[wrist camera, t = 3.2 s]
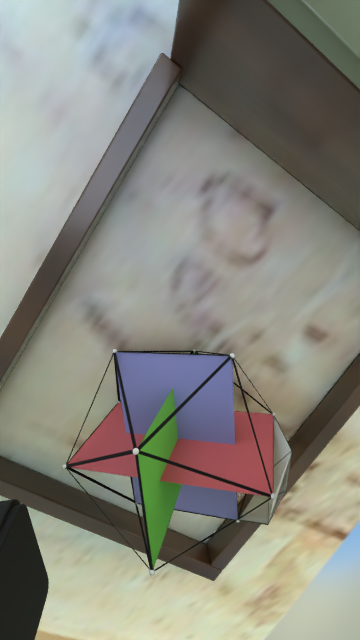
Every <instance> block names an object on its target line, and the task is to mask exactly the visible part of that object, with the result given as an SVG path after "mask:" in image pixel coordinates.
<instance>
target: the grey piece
mask: <svg viewBox="0 0 360 640" xmlns="http://www.w3.org/2000/svg"><path fill="white" fill-rule="evenodd" d="M178 83H180V84H181V85H182V86H183V87H185V88H186V89H187V90H188V91H190V92H191V93H192V94H193V95H194V96H196V97H197V98H198V99H199V100H201V101H202V102H203V103H204V104H205V105H207V106H208V107H209V108H210V109H212V110H213V111H214V112H215V113H216V114H218V115H219V116H220V117H221V118H223V119H224V120H225V121H226V122H228V123H229V124H230V125H231V126H232V127H234V128H235V129H236V130H237V131H239V132H240V133H241V134H242V135H243V136H245V137H246V138H247V139H248V140H250V141H251V142H252V143H253V144H254V145H256V146H257V147H258V148H259V149H261V150H262V151H263V152H264V153H266V154H267V155H268V156H269V157H270V158H272V159H273V160H274V161H275V162H277V163H278V164H279V165H280V166H281V167H283V168H284V169H285V170H286V171H288V172H289V173H290V174H291V175H292V176H294V177H295V178H296V179H297V180H299V181H300V182H301V183H302V184H303V185H305V186H306V187H307V188H308V189H310V190H311V191H312V192H313V193H315V194H316V195H317V196H318V197H319V198H321V199H322V200H323V201H324V202H326V203H327V204H328V205H329V206H330V207H332V208H333V209H334V210H335V211H337V212H338V213H339V214H340V215H341V216H343V217H344V218H345V219H346V220H348V221H349V222H350V223H351V224H353V225H354V226H355V227H356V228H357V229H359V230H360V0H179V5H178V12H177V18H176V25H175V32H174V38H173V45H172V51H171V58H168V57H167V56H166V55H165V54H164V53H161V54H160V56H159V58H158V59H157V61H156V63H155V65H154V67H153V68H152V70H151V72H150V74H149V75H148V77H147V79H146V81H145V82H144V84H143V86H142V88H141V90H140V91H139V93H138V95H137V97H136V98H135V100H134V102H133V104H132V106H131V107H130V109H129V111H128V113H127V114H126V116H125V118H124V120H123V122H122V123H121V125H120V127H119V129H118V130H117V132H116V134H115V136H114V137H113V139H112V141H111V143H110V145H109V146H108V148H107V150H106V152H105V153H104V155H103V157H102V159H101V161H100V162H99V164H98V166H97V168H96V169H95V171H94V173H93V175H92V176H91V178H90V180H89V182H88V184H87V185H86V187H85V189H84V191H83V192H82V194H81V196H80V198H79V200H78V201H77V203H76V205H75V207H74V208H73V210H72V212H71V214H70V215H69V217H68V219H67V221H66V223H65V224H64V226H63V228H62V230H61V231H60V233H59V235H58V237H57V239H56V240H55V242H54V244H53V246H52V247H51V249H50V251H49V253H48V255H47V256H46V258H45V260H44V262H43V263H42V265H41V267H40V269H39V270H38V272H37V274H36V276H35V278H34V279H33V281H32V283H31V285H30V286H29V288H28V290H27V292H26V294H25V295H24V297H23V299H22V301H21V302H20V304H19V306H18V308H17V309H16V311H15V313H14V315H13V317H12V318H11V320H10V322H9V324H8V325H7V327H6V329H5V331H4V333H3V334H2V336H1V338H0V389H1V388H2V386H3V384H4V383H5V381H6V379H7V377H8V376H9V374H10V372H11V371H12V369H13V367H14V365H15V364H16V362H17V360H18V359H19V357H20V355H21V353H22V352H23V350H24V348H25V347H26V345H27V343H28V341H29V340H30V338H31V336H32V335H33V333H34V331H35V329H36V328H37V326H38V324H39V323H40V321H41V319H42V317H43V316H44V314H45V312H46V311H47V309H48V307H49V305H50V304H51V302H52V300H53V299H54V297H55V295H56V293H57V292H58V290H59V288H60V287H61V285H62V283H63V281H64V280H65V278H66V276H67V275H68V273H69V271H70V269H71V268H72V266H73V264H74V263H75V261H76V259H77V257H78V256H79V254H80V252H81V251H82V249H83V247H84V245H85V244H86V242H87V240H88V239H89V237H90V235H91V233H92V232H93V230H94V228H95V227H96V225H97V223H98V221H99V220H100V218H101V216H102V215H103V213H104V211H105V209H106V208H107V206H108V204H109V203H110V201H111V199H112V197H113V196H114V194H115V192H116V191H117V189H118V187H119V185H120V184H121V182H122V180H123V179H124V177H125V175H126V173H127V172H128V170H129V168H130V167H131V165H132V163H133V161H134V160H135V158H136V156H137V155H138V153H139V151H140V149H141V148H142V146H143V144H144V143H145V141H146V139H147V137H148V136H149V134H150V132H151V131H152V129H153V127H154V125H155V124H156V122H157V120H158V119H159V117H160V115H161V113H162V112H163V110H164V108H165V107H166V105H167V103H168V101H169V100H170V98H171V96H172V95H173V93H174V91H175V89H176V88H177V86H178ZM359 406H360V355H359V356H358V357H357V358H356V360H355V361H354V362H353V363H352V365H351V366H350V367H349V368H348V370H347V371H346V372H345V373H344V375H343V376H342V377H341V378H340V379H339V381H338V382H337V383H336V384H335V386H334V387H333V388H332V389H331V391H330V392H329V393H328V394H327V396H326V397H325V398H324V399H323V401H322V402H321V403H320V404H319V406H318V407H317V408H316V409H315V411H314V412H313V413H312V414H311V416H310V417H309V418H308V419H307V421H306V422H305V423H304V424H303V425H302V427H301V428H300V429H299V430H298V432H297V433H296V434H295V435H294V437H293V438H292V439H291V440H290V442H289V443H288V444H289V446H290V448H291V450H292V454H291V461H290V468H289V474H288V481H287V488H286V491H285V493H284V495H283V497H284V496H285V495H286V494H287V492H288V491H289V490H290V489H291V488H292V486H293V485H294V484H295V483H296V482H297V480H298V479H299V478H300V477H301V476H302V474H303V473H304V472H305V471H306V470H307V468H308V467H309V466H310V465H311V464H312V462H313V461H314V460H315V459H316V458H317V456H318V455H319V454H320V453H321V452H322V450H323V449H324V448H325V447H326V446H327V444H328V443H329V442H330V441H331V440H332V438H333V437H334V436H335V435H336V434H337V432H338V431H339V430H340V429H341V428H342V426H343V425H344V424H345V423H346V422H347V420H348V419H349V418H350V417H351V416H352V414H353V413H354V412H355V411H356V409H357V408H358V407H359ZM0 496H3V497H5V498H8V499H10V500H13V499H17V500H19V502H20V504H25V505H26V506H28V507H30V508H33V509H35V510H38V511H40V512H43V513H45V514H48V515H50V516H53V517H55V518H58V519H60V520H63V521H65V522H68V523H70V524H73V525H75V526H78V527H80V528H83V529H85V530H88V531H90V532H93V533H95V534H98V535H100V536H103V537H105V538H108V539H110V540H113V541H115V542H118V543H120V544H123V545H125V546H127V547H130V548H131V546H132V548H133V549H135V550H137V551H140V552H142V553H145V554H147V553H146V549H145V544H144V540H143V536H142V531H141V527H140V523H139V518H138V516H137V515H135V514H133V513H130V512H128V511H126V510H123V509H121V508H119V507H116V506H114V505H112V504H109V503H107V502H105V501H103V500H100V499H98V498H96V497H93V496H91V495H88V494H86V493H84V492H82V491H79V490H77V489H75V488H72V487H70V486H68V485H65V484H63V483H61V482H58V481H56V480H54V479H51V478H49V477H47V476H44V475H42V474H40V473H37V472H35V471H33V470H30V469H28V468H26V467H23V466H21V465H19V464H17V463H14V462H12V461H10V460H7V459H5V458H3V457H0ZM89 496H90V497H91V498H92V499H93V500H94V502H95V503H96V504H97V505H98V506H97V505H96V504H95V503H94V502H93V500H92V499H91V498H90V497H89ZM252 497H253V494H247V495H246V498H245V501H244V504H243V507H242V510H241V513H240V516H241V514H242V513H243V511H244V509H245V508H246V506H247V505H248V503H249V501H250V500H251V498H252ZM283 497H282V498H283ZM243 500H244V499H243ZM243 500H242V501H241V503H240V504H239V505H238V506H237V515H239V512H240V509H241V506H242V503H243ZM281 500H282V499H281ZM98 507H99V508H100V509H101V510H102V511H103V512H102V511H101V510H100V509H99V508H98ZM103 513H104V514H105V515H106V516H107V517H108V519H109V520H110V521H111V522H112V523H113V525H114V526H115V527H116V528H117V529H116V528H115V527H114V526H113V525H112V523H111V522H110V521H109V520H108V519H107V517H106V516H105V515H104V514H103ZM240 516H239V517H240ZM140 519H141V523H142V527H143V531H144V535H145V540H146V532H145V525H144V518H142V517H140ZM233 521H234V520H230V519H227V520H226V521H225V522H224V524H223V525H222V526H221V527H220V529H221V528H223V527H225V526H226V525H228V524H229V523H231V522H233ZM260 525H261V524H258V523H252V522H245V521H239V522H238V523H237V522H234V523H232V524H231V525H229V526H228V527H226V528H224V529H223V530H221V531H219V532H218V533H216V534H215V535H214V536H213V537H212V539H211V540H210V541H209V542H208V544H207V545H205V544H202V543H200V544H198V545H197V546H195V547H193V548H192V549H190V550H188V551H187V552H185V553H183V552H184V551H186V550H187V549H189V548H191V547H192V546H194V545H196V544H197V543H199V542H198V541H195V540H193V539H191V538H189V537H186V536H184V535H182V534H179V533H177V532H175V531H172V530H170V529H168V528H167V530H166V533H165V536H164V539H163V542H162V545H161V548H160V551H159V554H158V557H157V559H160V560H162V561H165V562H168V561H170V560H171V559H173V558H175V557H176V556H178V555H179V554H181V553H183V554H182V555H180V556H179V557H177V558H175V559H174V560H172V561H170V562H169V563H170V564H172V565H175V566H177V567H180V568H182V569H185V570H187V571H190V572H192V573H195V574H197V575H200V576H202V577H205V578H207V579H210V580H212V581H214V580H215V579H216V578H217V577H218V576H219V574H220V573H221V572H222V570H223V569H224V568H225V567H226V566H227V565H228V563H229V562H230V561H231V560H232V559H233V557H234V556H235V555H236V554H237V553H238V551H239V550H240V549H241V548H242V547H243V545H244V544H245V543H246V542H247V541H248V539H249V538H250V537H251V536H252V535H253V533H254V532H255V531H256V530H257V528H258V527H259V526H260ZM220 529H219V530H220ZM117 530H118V531H119V532H120V533H121V534H122V536H123V537H124V538H125V539H126V540H127V542H128V543H129V544H130V545H131V546H130V545H129V544H128V543H127V542H126V540H125V539H124V538H123V537H122V536H121V534H120V533H119V532H118V531H117ZM146 544H147V540H146ZM147 548H148V547H147Z"/></svg>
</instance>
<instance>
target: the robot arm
mask: <svg viewBox="0 0 360 640" xmlns="http://www.w3.org/2000/svg"><path fill="white" fill-rule="evenodd" d="M48 584H49V583H48V576H47V572H46V569H45V566H44V563H43V559H42V556H41V553H40V549H39V546H38V543H37V539H36V536H35V533H34V529H33V526H32V523H31V519H30V516H29V513H28V509H27V507H26V505H25V504H20V502H19V500H17V499H13V500H7V501H0V640H34V639H35V636H36V633H37V629H38V626H39V622H40V619H41V615H42V611H43V608H44V604H45V601H46V597H47V593H48Z"/></svg>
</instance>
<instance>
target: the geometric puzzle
mask: <svg viewBox="0 0 360 640" xmlns="http://www.w3.org/2000/svg"><path fill="white" fill-rule="evenodd" d="M156 352H191V353H189V354H186V353H156ZM197 352H201V351H196V349H193V351H117V349H114V350H113V354H114V363H115V373H116V384H117V394H118V401H117V404H116V405H115V407H114V408H113V409H112V410H111V411H110V413H109V414H108V415H107V416H106V417H105V419H104V420H103V421H102V422H101V423H100V425H99V426H98V427H97V428H96V429H95V431H94V432H93V433H92V434H91V435H90V437H89V438H88V439H87V440H86V441H85V443H84V444H83V445H82V446H81V447H80V449H79V450H78V451H77V452H76V453H75V454H74V456H73V457H72V458H71V459H70V460H69V458H70V456H71V454H70V456H69V458H68V460H69V462H68V461H67V463H66V464H64V465H63V466H62V467H63V469H67V470H68V469H69V470H71V471H72V472H74V473H76V474H78V475H80V476H82V477H84V478H86V479H88V480H90V481H92V482H94V483H96V484H98V485H100V486H102V487H104V488H106V489H108V490H110V491H112V492H114V493H116V494H118V495H120V496H122V497H124V498H126V499H128V500H130V501H132V502H134V503H135V505H136V510H137V514H138V518H139V523H140V527H141V531H142V536H143V540H144V544H145V549H146V553H147V557H148V562H149V566H150V568H149V567H148V566H147V565H146V563H145V562H144V561H143V560H142V559H141V557H140V556H139V555H138V554H137V553H136V554H137V555H138V556H139V557H140V559H141V560H142V561H143V562H144V563H145V565H146V566H147V567H148V568H149V569H150V571H149V573H150V575H151V576H153V575H154V574H155V571H156V570H157V569H159V568H161V567H162V566H164V565H166V564H167V563H169V562H170V561H172V560H174V559H175V558H177V557H179V556H180V555H182V554H183V553H185V552H187V551H188V550H190V549H192V548H193V547H195V546H197V545H198V544H200V543H201V542H203V541H205V540H206V539H208V538H210V537H211V536H213V535H214V534H216V533H218V532H219V531H221V530H223V529H224V528H226V527H228V526H229V525H231V524H232V523H234V522H237V523H238V522H239V521H245V522H252V523H258V524H265V525H268V524H269V522H270V520H271V518H272V516H273V514H274V512H275V510H276V509H277V507H278V505H279V503H280V501H281V499H282V497H283V495H284V493H285V491H286V488H287V481H288V474H289V468H290V461H291V454H292V450H291V448H290V446H289V444H288V442H287V440H286V438H285V436H284V434H283V432H282V430H281V428H280V426H279V424H278V422H277V420H276V418H275V413H274V412H272V411H271V410H270V411H271V412H270V411H269V410H268V409H267V408H265V407H264V406H263V405H262V404H260V403H259V402H258V401H257V400H255V399H254V398H253V397H252V396H251V395H249V394H248V393H247V392H246V391H244V390H243V389H242V386H241V383H240V379H239V376H238V372H237V369H236V365H235V362H234V359H235V358H234V357H235V355H234V354H233V353H231V354H230V355H227V354H219V355H215V354H218V353H211V354H198V353H197ZM196 353H197V354H196ZM203 353H210V352H203ZM112 357H113V355H112ZM112 357H111V359H112ZM233 358H234V359H233ZM232 361H233V363H232ZM235 361H236V360H235ZM110 362H111V360H110ZM110 362H109V364H110ZM236 362H237V361H236ZM109 364H108V366H109ZM237 364H238V363H237ZM233 365H234V368H235V372H236V375H237V378H238V382H239V385H240V387H239V386H238V385H237V384H236V383H234V382H233ZM238 365H239V364H238ZM239 367H240V366H239ZM240 368H241V367H240ZM107 369H108V367H107ZM107 369H106V371H107ZM241 369H242V368H241ZM106 371H105V373H106ZM242 371H243V370H242ZM243 372H244V371H243ZM244 374H245V373H244ZM245 375H246V374H245ZM104 376H105V374H104ZM104 376H103V378H104ZM246 377H247V376H246ZM103 378H102V380H103ZM247 378H248V377H247ZM248 379H249V378H248ZM249 381H250V380H249ZM250 382H251V381H250ZM101 383H102V381H101ZM101 383H100V385H101ZM233 383H234V384H235V385H236V386H237V387H239V388H240V389H241V392H242V396H243V399H244V403H245V406H246V410H247V412H238V411H234V393H233ZM251 384H252V383H251ZM100 385H99V387H100ZM252 385H253V384H252ZM253 387H254V386H253ZM254 388H255V387H254ZM119 389H120V392H119ZM98 390H99V388H98ZM98 390H97V392H98ZM243 391H244V392H245V393H246V394H247V395H249V396H250V397H251V398H252V399H254V400H255V401H256V402H257V403H258V404H260V405H261V406H262V407H263V408H265V409H266V410H267V411H268V412H270V413H271V414H262V413H250V412H249V410H248V407H247V403H246V400H245V396H244V393H243ZM256 391H257V390H256ZM97 392H96V394H97ZM257 392H258V391H257ZM258 394H259V393H258ZM259 395H260V394H259ZM120 396H121V400H120ZM95 397H96V395H95ZM95 397H94V399H95ZM260 397H261V396H260ZM261 398H262V397H261ZM93 401H94V400H93ZM263 401H264V400H263ZM264 402H265V401H264ZM92 404H93V402H92ZM92 404H91V406H92ZM265 404H266V403H265ZM266 405H267V404H266ZM267 407H268V406H267ZM268 408H269V407H268ZM90 409H91V407H90ZM90 409H89V411H90ZM89 411H88V413H89ZM87 416H88V414H87ZM87 416H86V418H87ZM86 418H85V420H86ZM84 423H85V421H84ZM84 423H83V425H84ZM83 425H82V427H83ZM81 430H82V428H81ZM81 430H80V432H81ZM80 432H79V434H80ZM78 437H79V435H78ZM78 437H77V439H78ZM77 439H76V441H77ZM75 444H76V442H75ZM75 444H74V446H75ZM74 446H73V448H74ZM72 451H73V449H72ZM72 451H71V453H72ZM72 468H76V469H83V470H90V471H97V472H104V473H110V474H117V475H124V476H130V477H131V483H132V489H133V495H134V500H133V499H131V498H129V497H127V496H125V495H123V494H121V493H119V492H117V491H115V490H113V489H111V488H109V487H107V486H105V485H103V484H102V483H100V482H98V481H96V480H94V479H92V478H90V477H88V476H86V475H84V474H82V473H80V472H78V471H76V470H74V469H72ZM69 470H68V471H69ZM69 472H70V471H69ZM70 474H71V473H70ZM71 475H72V474H71ZM72 476H73V475H72ZM73 477H74V476H73ZM74 479H75V477H74ZM75 480H76V479H75ZM76 481H77V480H76ZM77 482H78V481H77ZM78 483H79V482H78ZM79 485H80V484H79ZM80 486H81V485H80ZM81 487H82V486H81ZM82 488H83V487H82ZM83 489H84V488H83ZM84 491H85V490H84ZM85 492H86V491H85ZM237 492H240V493H246V494H245V497H244V500H243V503H242V506H241V509H240V512H239V515H237ZM86 493H87V492H86ZM87 494H88V493H87ZM247 494H253V497H252V498H251V500H250V501H249V503H248V505H247V506H246V508H245V509H244V511H243V513H242V514H241V516H240V513H241V510H242V507H243V504H244V501H245V498H246V495H247ZM88 495H89V494H88ZM89 497H90V496H89ZM90 498H91V497H90ZM91 499H92V498H91ZM92 500H93V499H92ZM93 502H94V500H93ZM94 503H95V502H94ZM95 504H96V503H95ZM138 504H142V510H143V518H144V525H145V532H146V540H147V544H146V540H145V535H144V531H143V527H142V523H141V519H140V515H139V511H138V506H137V505H138ZM96 505H97V504H96ZM97 506H98V505H97ZM98 508H99V507H98ZM99 509H100V508H99ZM100 510H101V509H100ZM173 510H177V511H183V512H189V513H195V514H201V515H206V516H212V517H218V518H224V519H230V520H234V521H233V522H231V523H229V524H228V525H226V526H225V527H223V528H221V529H220V530H218V531H217V532H215V533H213V534H212V535H210V536H208V537H207V538H205V539H204V540H202V541H200V542H199V543H197V544H196V545H194V546H192V547H191V548H189V549H187V550H186V551H184V552H183V553H181V554H179V555H178V556H176V557H175V558H173V559H171V560H170V561H168V562H166V563H165V564H163V565H162V566H160V567H158V568H157V569H155V570H154V566H155V563H156V560H157V557H158V554H159V551H160V548H161V545H162V542H163V539H164V536H165V533H166V530H167V528H168V525H169V522H170V519H171V516H172V513H173ZM101 511H102V510H101ZM102 512H103V511H102ZM103 514H104V513H103ZM104 515H105V514H104ZM105 516H106V515H105ZM239 516H240V517H239ZM106 517H107V516H106ZM107 519H108V517H107ZM108 520H109V519H108ZM109 521H110V520H109ZM110 522H111V521H110ZM111 523H112V522H111ZM112 525H113V523H112ZM113 526H114V525H113ZM114 527H115V526H114ZM115 528H116V527H115ZM116 529H117V528H116ZM117 531H118V530H117ZM118 532H119V531H118ZM119 533H120V532H119ZM120 534H121V533H120ZM121 536H122V534H121ZM122 537H123V536H122ZM123 538H124V537H123ZM124 539H125V538H124ZM125 540H126V539H125ZM126 542H127V540H126ZM127 543H128V542H127ZM128 544H129V543H128ZM129 545H130V544H129ZM130 546H131V545H130ZM147 547H148V548H147ZM131 548H132V546H131ZM132 549H133V548H132ZM133 550H134V549H133ZM134 551H135V550H134ZM135 552H136V551H135Z"/></svg>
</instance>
